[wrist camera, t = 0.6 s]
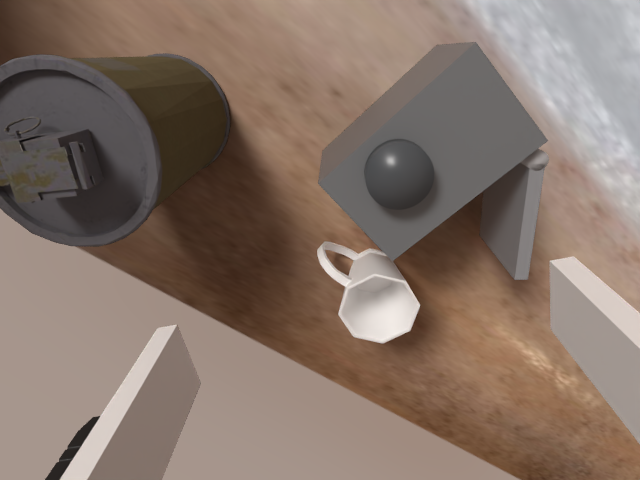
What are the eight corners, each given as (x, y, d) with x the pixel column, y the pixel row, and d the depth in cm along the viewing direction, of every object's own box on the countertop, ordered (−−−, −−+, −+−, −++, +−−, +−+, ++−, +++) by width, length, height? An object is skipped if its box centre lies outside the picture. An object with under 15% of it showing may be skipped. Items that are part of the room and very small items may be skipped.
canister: (218, 46, 37) (103, 41, 19) (240, 167, 41) (162, 260, 23) (95, 61, 38) (-131, 70, 20) (128, 178, 42) (-33, 276, 24)
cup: (376, 309, 47) (384, 357, 39) (300, 257, 45) (293, 298, 37) (420, 261, 44) (438, 303, 37) (342, 205, 42) (343, 237, 35)
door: (477, 235, 42) (511, 279, 34) (487, 129, 38) (528, 151, 30) (493, 234, 42) (531, 279, 34) (504, 129, 38) (551, 150, 30)
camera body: (322, 150, 40) (317, 189, 29) (437, 44, 37) (483, 41, 25) (381, 214, 43) (398, 274, 31) (495, 121, 39) (562, 150, 27)
